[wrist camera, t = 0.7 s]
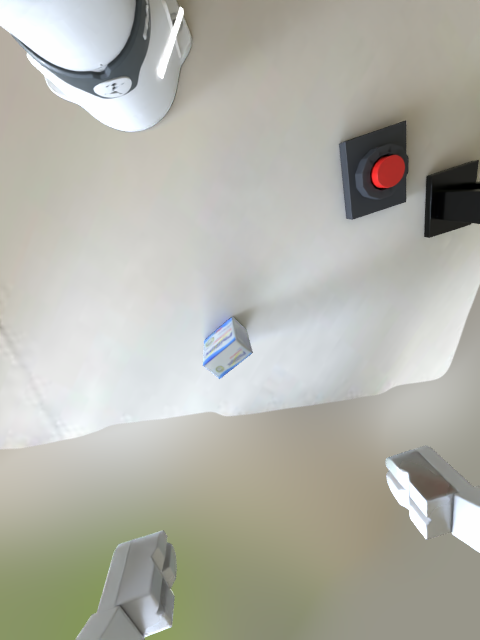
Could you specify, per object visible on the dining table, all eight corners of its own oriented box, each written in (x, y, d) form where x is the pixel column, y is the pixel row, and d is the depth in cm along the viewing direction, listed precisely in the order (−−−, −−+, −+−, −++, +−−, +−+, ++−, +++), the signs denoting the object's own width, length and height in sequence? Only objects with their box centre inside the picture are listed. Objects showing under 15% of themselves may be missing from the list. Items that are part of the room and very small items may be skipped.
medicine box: (232, 315, 49) (236, 337, 41) (247, 329, 51) (253, 353, 43) (203, 340, 51) (202, 366, 43) (219, 353, 53) (220, 380, 45)
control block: (338, 143, 38) (351, 138, 35) (397, 123, 38) (416, 116, 34) (346, 218, 43) (358, 220, 40) (398, 201, 43) (415, 202, 39)
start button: (369, 161, 36) (376, 160, 35) (396, 152, 36) (405, 150, 35) (371, 191, 38) (378, 191, 37) (397, 182, 38) (405, 182, 37)
